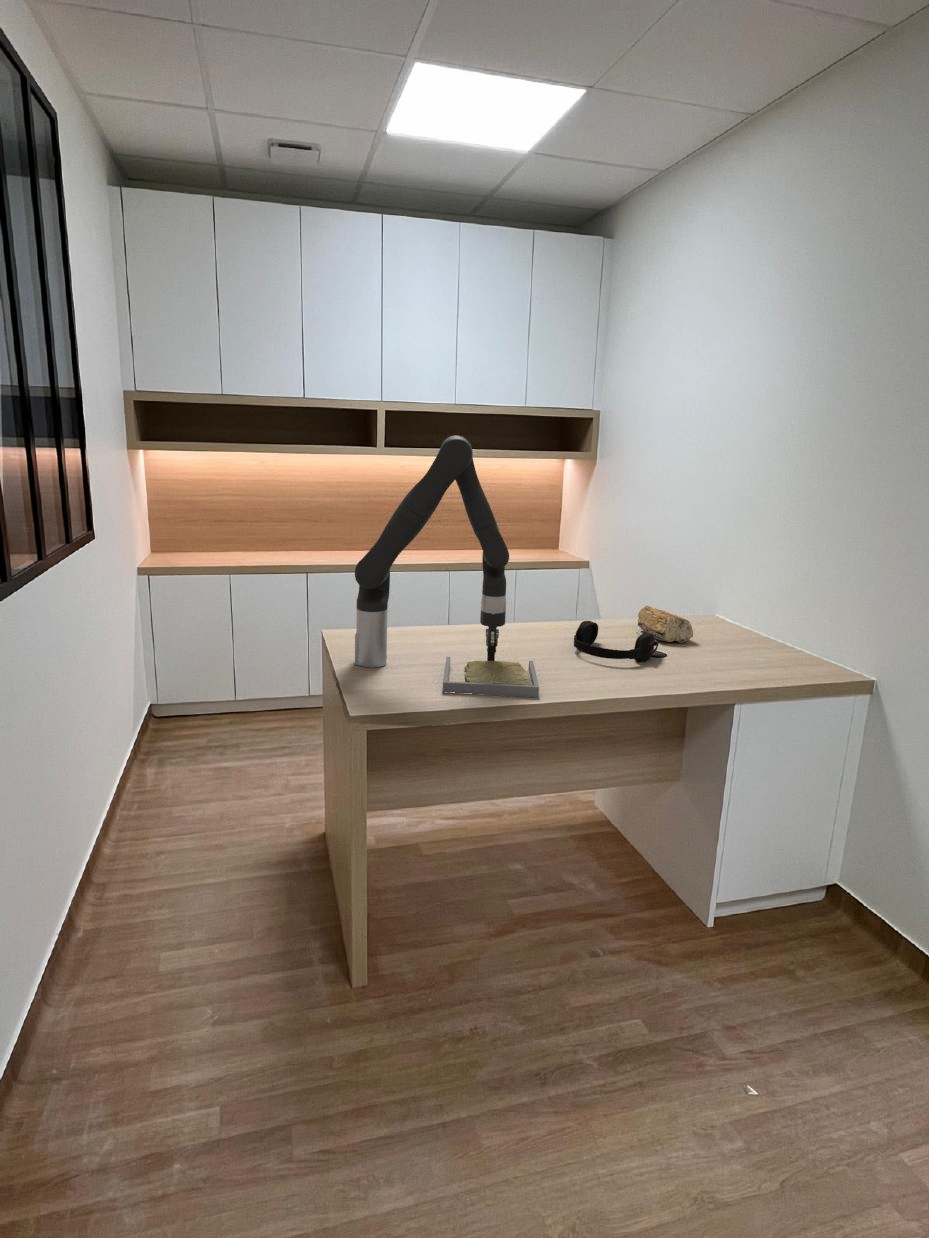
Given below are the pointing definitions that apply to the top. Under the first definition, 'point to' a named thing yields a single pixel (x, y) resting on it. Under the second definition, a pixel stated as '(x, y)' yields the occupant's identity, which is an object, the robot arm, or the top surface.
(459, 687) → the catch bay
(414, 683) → the top surface
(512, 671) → the decorative tile
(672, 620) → the petrified wood
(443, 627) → the top surface
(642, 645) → the headset
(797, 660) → the top surface
